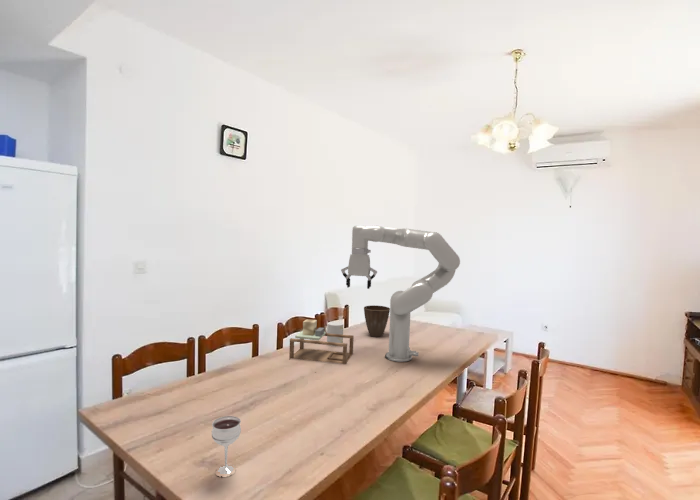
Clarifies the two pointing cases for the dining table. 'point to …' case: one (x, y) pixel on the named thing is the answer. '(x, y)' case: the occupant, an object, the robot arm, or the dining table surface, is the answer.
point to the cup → (335, 331)
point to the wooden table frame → (322, 354)
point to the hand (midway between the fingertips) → (358, 287)
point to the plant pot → (376, 319)
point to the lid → (317, 336)
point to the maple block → (309, 327)
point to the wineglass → (226, 436)
